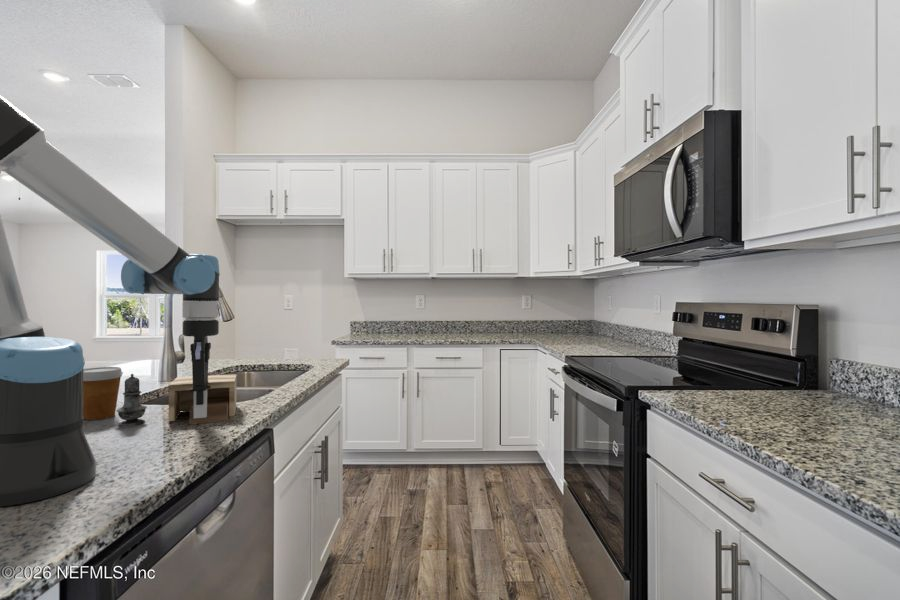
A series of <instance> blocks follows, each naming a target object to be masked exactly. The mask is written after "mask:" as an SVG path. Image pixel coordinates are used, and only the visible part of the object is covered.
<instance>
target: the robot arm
mask: <svg viewBox="0 0 900 600" xmlns="http://www.w3.org/2000/svg"><path fill="white" fill-rule="evenodd" d="M2 172H4V173H5V174H7V175H9V176H10V177H11V178H13V179H14V180H16V181H17V182H19V183H20V184H22V185H23V186H24V187H26V188H27V189H29V190H30V191H31V192H33V193H34V194H35V195H36V196H38V197H40V198H41V199H42V200H44V201H46V202H47V203H48V204H50V205H51V206H53V207H54V208H56V209H57V210H58V211H59V212H60V213H63V214H64V215H66V217H68V218H70V219H71V220H72V221H74V222H76V223H77V224H78V225H79V226H81V227H83V229H85V230H86V231H88V232H89V233H91V234H92V235H94V236H95V237H97V238H98V239H99V240H101V241H102V242H103V243H105V244H106V245H108V246H110V247H111V248H112V249H113V250H116V252H117V253H119V254H121V255H122V256H124V257H125V258H126V259H127V260H126V261H125V262H124V263H123V265H122V266H121V271H120V281H121V285H122V288H123V290H124V291H126V292H127V293H129V294H136V295H137V294H141V295H182V318H183V319H185V320H183V321H182V335H183V336H184V337H193V342H192V343H191V344H190V355H191V363H192V364H191V367H192V369H191V371H192V372H191V373H192V375H191V376H192V377H193V386H192V389H190V392H192V391H194V418H205V417H207V388H210V387H211V385H207V384H208V376H209V360H210V355H211V353H210V351H211V348H212V343H211V342H208V337H213V336H217V335H219V332H220V331H219V330H220V329H219V326H220V325H219V320H218V319H216V318H218V317H219V310H221V309H222V305H219V297H220V295H219V293H220V275H221V273H220V265H219V259H218V258H217V257H216V256H215V255H210V254H201V253H200V254H199V253H188V252H187V251H185V250H184V249H183V248H181V247H180V246H179V245H177V244H176V243H175V242H174V241H172V240H171V239H170V238H168V237H167V236H166V235H165V234H164V233H163V232H161V231H160V230H159V229H158V228H156V227H155V226H154V225H152V224H151V223H150V222H148V221H147V220H146V219H145V217H142V216H141V215H140V214H138V213H137V212H136V211H135V210H134V209H132V207H130V206H129V205H128V204H126V203H125V202H124V201H122V200H121V199H120V198H119V197H118V196H116V195H115V194H114V193H112V192H111V191H110V190H109V189H108V188H106V187H105V186H104V185H103V184H101V183H100V182H99V181H98V180H96V179H95V178H94V177H93V176H91V175H90V174H89V173H88V172H86V171H85V170H84V169H83V168H81V167H80V166H79V165H77V164H76V163H75V162H74V161H72V160H71V159H70V158H69V157H68V156H66V155H65V154H64V153H62V152H61V151H60V150H59V149H57V147H55V146H54V145H53V144H51V143H50V142H49V141H48V140H47V139H46V136H45V130H44V129H43V128H42V127H41V126H39V125H38V124H37V123H35V122H34V121H33V120H32V119H31V118H30V117H28V116H27V115H26V114H25V113H24V112H22V111H21V110H20V109H18V108H17V107H16V106H14V105H13V104H12V103H11V102H9V101H8V100H7V99H6V98H4V97H3V96H1V95H0V175H1V174H2ZM45 334H46V333H45V332H44V327H43V325H42V324H40V323H38V322H36V321H33V320H32V319H30V318H29V315H28V311H27V308H26V304H25V300H24V298H23V294H22V290H21V287H20V283H19V279H18V275H17V272H16V268H15V264H14V260H13V257H12V254H11V249H10V247H9V241H8V239H7V235H6V231H5V228H4V225H3V220H2V217H1V215H0V508H1V507H8V506H9V507H10V506H16V505H23V504H27V503H28V504H29V503H32V502H37V501H42V500H44V499H48V498H52V497H55V496H58V495H62V494H64V493H67V492H70V491H72V490H75V489H78V488H80V487H82V486H85V484H87V483H89V482H90V481H92V480H93V479H94V478H95V477H96V475H97V471H96V470H97V462H96V459H95V456H94V454H93V451H92V449H91V446H90V445H89V442H88V439H87V438H86V435H85V433H84V430H83V427H84V426H83V424H84V423H83V422H84V421H83V420H84V419H83V369H84V367H85V362H86V361H85V357H84V352H83V347H82V345H81V344H80V343H79V342H78V341H75V340H73V339H71V338H64V337H53V336H46V335H45Z"/></svg>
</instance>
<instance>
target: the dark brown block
mask: <svg viewBox="0 0 900 600" xmlns="http://www.w3.org/2000/svg"><path fill="white" fill-rule="evenodd" d="M228 419H229V396H226V397H212V398H207V417H205V418H194V404H193V405H192V407H191V408H190V412H189V425H194V424H195V423H197V424H207V423H215V422H216V423H218V422H226V421H228Z"/></svg>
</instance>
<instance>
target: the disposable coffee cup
mask: <svg viewBox="0 0 900 600" xmlns="http://www.w3.org/2000/svg"><path fill="white" fill-rule="evenodd" d="M123 374H124V372H123V371H122V368H121V367H120V366H101V367H100V366H99V367H91V368H90V367H89V368H83V420H84V419H86V420H85V421H97V419H98V420H103V419H108V418H111V417H114V416H115V414H116V411H117V409H116V408H117V403H118V396H119V389H120V384H121V379H122V376H123Z"/></svg>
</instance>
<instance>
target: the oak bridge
mask: <svg viewBox="0 0 900 600" xmlns="http://www.w3.org/2000/svg"><path fill="white" fill-rule="evenodd" d="M237 379H238V377H237V373H236V374H235V373H233V374H232V373H231V374H230V373H229V374H216V375H215V374H213V375H208V384H207V385H211V387H210V388H207V398H212V397H226V396H229V416H228V418H230V417H235V416H236V415H235V414H236V410H237V389H238V387H237V384H238V383H237V382H238V380H237ZM192 386H193V376H181V377H180V376H179V377H178V376H176V377H175V379H173V380H172V382H171V383H170V384H168V423H171V422H170V421H174V422H175V421H176V420H177V418H178V417H179V415H180V414H181V413H180V411H190V408H191V407H192V405H193V404H194V391H192V392H190V389H192ZM179 413H180V414H179ZM178 414H179V415H178ZM177 416H178V417H177ZM176 417H177V418H176ZM175 419H176V420H175Z"/></svg>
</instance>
